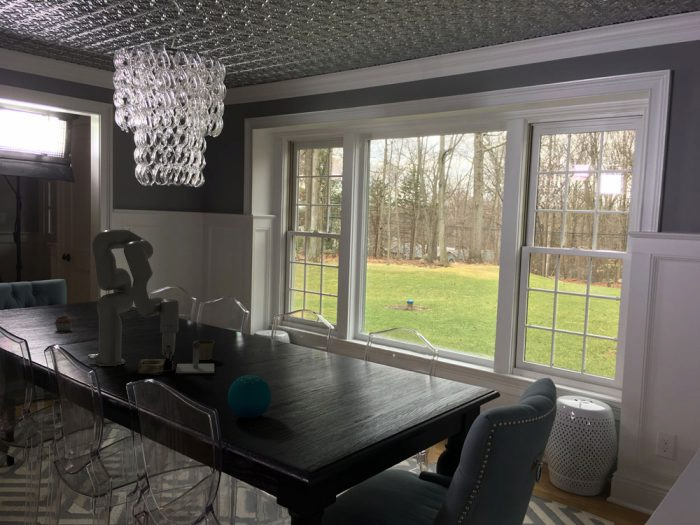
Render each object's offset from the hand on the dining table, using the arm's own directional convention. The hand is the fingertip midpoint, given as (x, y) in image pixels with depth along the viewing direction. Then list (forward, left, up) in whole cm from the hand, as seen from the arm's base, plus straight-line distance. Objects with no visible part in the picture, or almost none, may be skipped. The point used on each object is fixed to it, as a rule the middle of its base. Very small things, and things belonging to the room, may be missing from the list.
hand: (168, 367), depth 263 cm
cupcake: (-61, +86, -2) cm, 105 cm away
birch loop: (-5, 0, -2) cm, 6 cm away
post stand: (+11, 0, -2) cm, 11 cm away
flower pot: (+15, +20, -2) cm, 25 cm away
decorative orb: (+31, -61, -2) cm, 69 cm away
